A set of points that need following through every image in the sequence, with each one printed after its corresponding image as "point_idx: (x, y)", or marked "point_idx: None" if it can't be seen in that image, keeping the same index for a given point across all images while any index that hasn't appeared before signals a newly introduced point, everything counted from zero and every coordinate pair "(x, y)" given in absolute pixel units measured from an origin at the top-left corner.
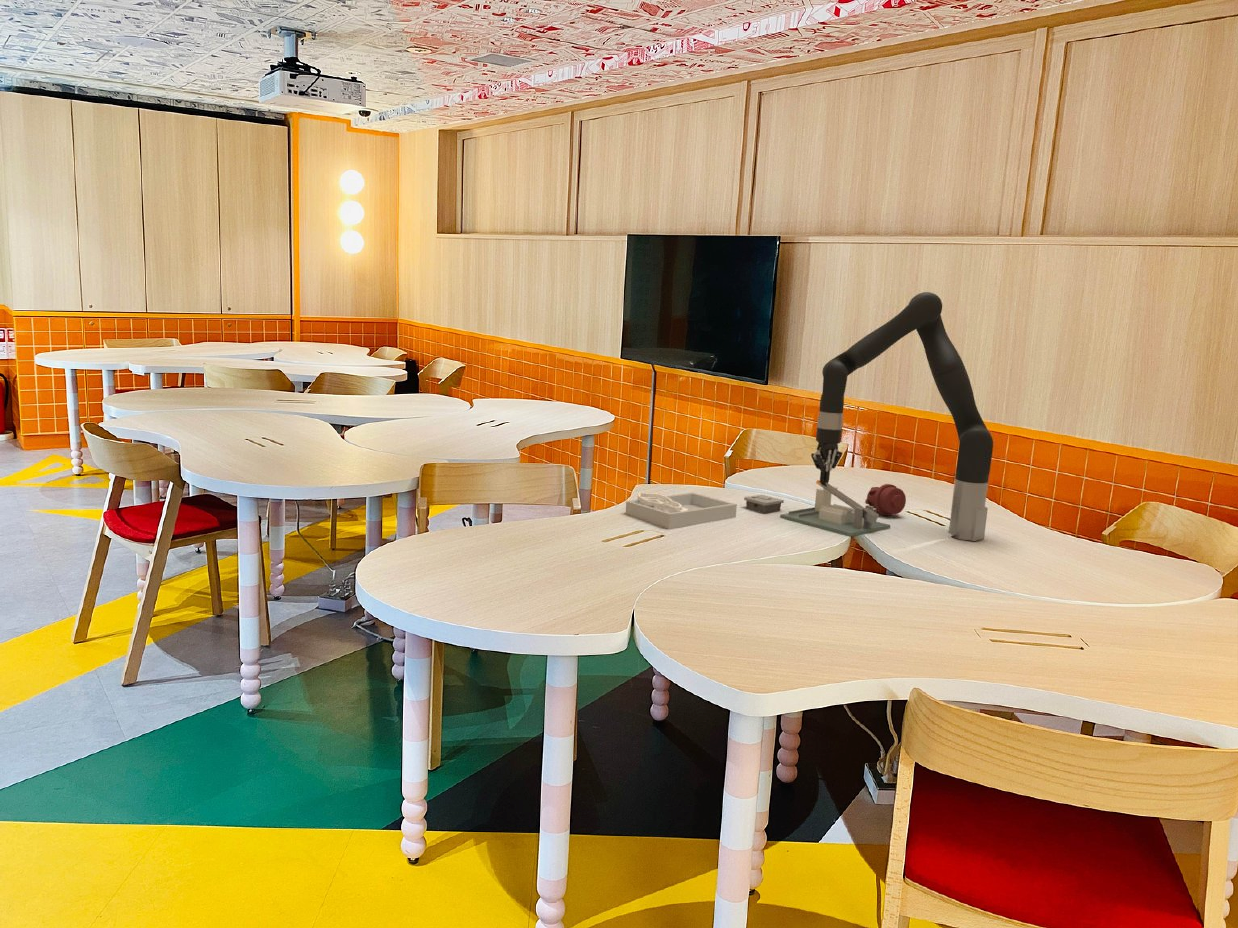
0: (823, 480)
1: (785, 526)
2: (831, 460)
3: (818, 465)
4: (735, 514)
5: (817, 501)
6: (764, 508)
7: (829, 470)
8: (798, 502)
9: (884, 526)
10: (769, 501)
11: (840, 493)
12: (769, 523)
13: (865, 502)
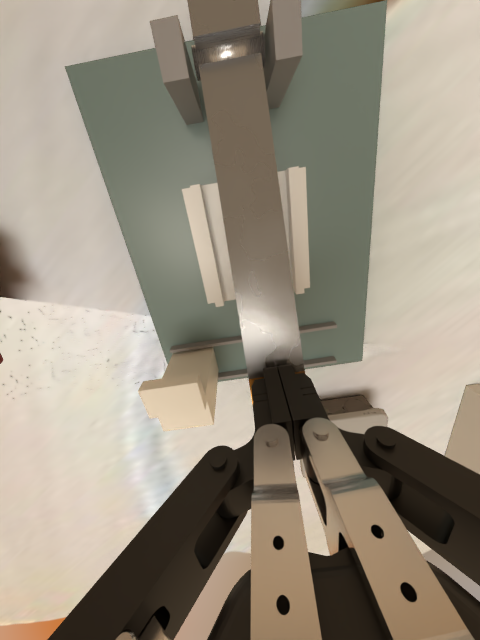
0: (307, 378)
1: (442, 269)
2: (304, 531)
3: (400, 490)
4: (477, 391)
5: (215, 382)
6: (371, 406)
7: (281, 427)
8: (173, 455)
9: (113, 57)
10: (366, 420)
11: (250, 260)
12: (447, 315)
13: (1, 360)
